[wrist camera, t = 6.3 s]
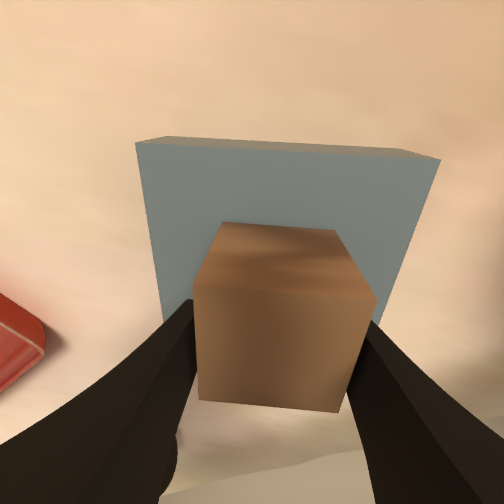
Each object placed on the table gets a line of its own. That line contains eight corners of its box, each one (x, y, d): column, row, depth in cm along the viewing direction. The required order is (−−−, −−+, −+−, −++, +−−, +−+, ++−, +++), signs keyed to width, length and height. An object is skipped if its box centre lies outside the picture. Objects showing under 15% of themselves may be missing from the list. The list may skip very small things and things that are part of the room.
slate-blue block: (396, 147, 13) (440, 159, 10) (345, 320, 19) (362, 367, 16) (169, 135, 14) (134, 142, 10) (186, 307, 19) (168, 350, 16)
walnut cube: (334, 230, 11) (377, 300, 7) (315, 317, 14) (338, 413, 9) (222, 221, 11) (192, 284, 7) (221, 309, 14) (198, 399, 9)
